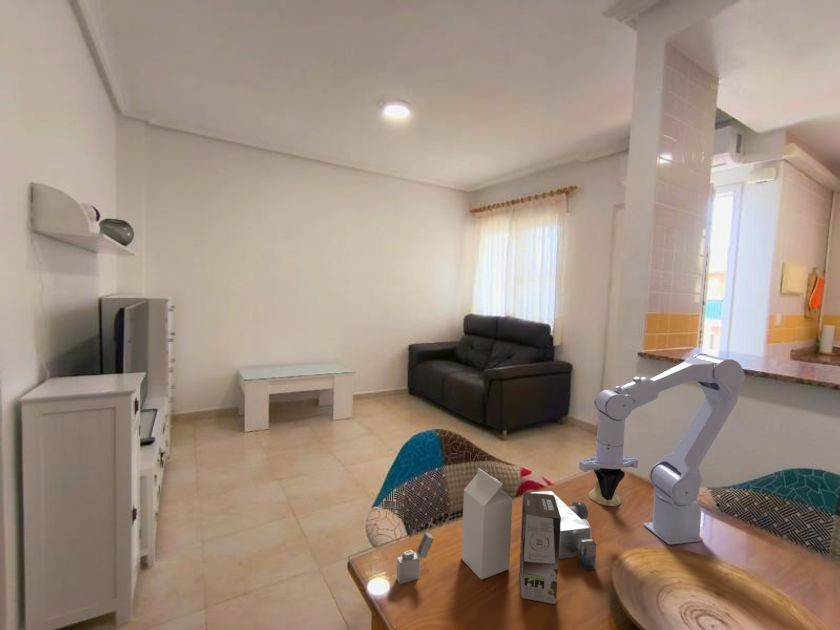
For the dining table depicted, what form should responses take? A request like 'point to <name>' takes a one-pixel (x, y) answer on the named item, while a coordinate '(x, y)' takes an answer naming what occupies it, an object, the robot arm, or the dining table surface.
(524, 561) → the coffee box
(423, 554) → the lighter
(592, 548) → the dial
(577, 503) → the knob black
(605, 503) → the hand bell
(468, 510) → the milk carton
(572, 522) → the mount
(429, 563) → the dining table surface
